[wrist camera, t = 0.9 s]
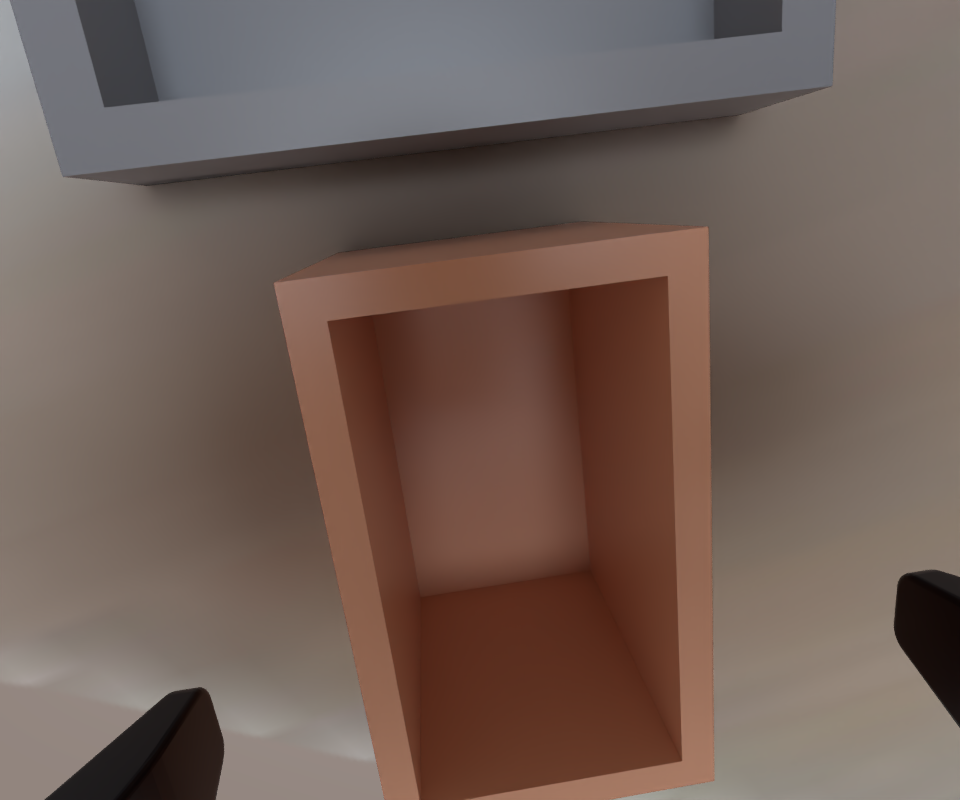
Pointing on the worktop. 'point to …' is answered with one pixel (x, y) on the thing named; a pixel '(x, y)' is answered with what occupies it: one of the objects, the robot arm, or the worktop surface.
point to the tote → (519, 503)
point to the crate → (393, 75)
